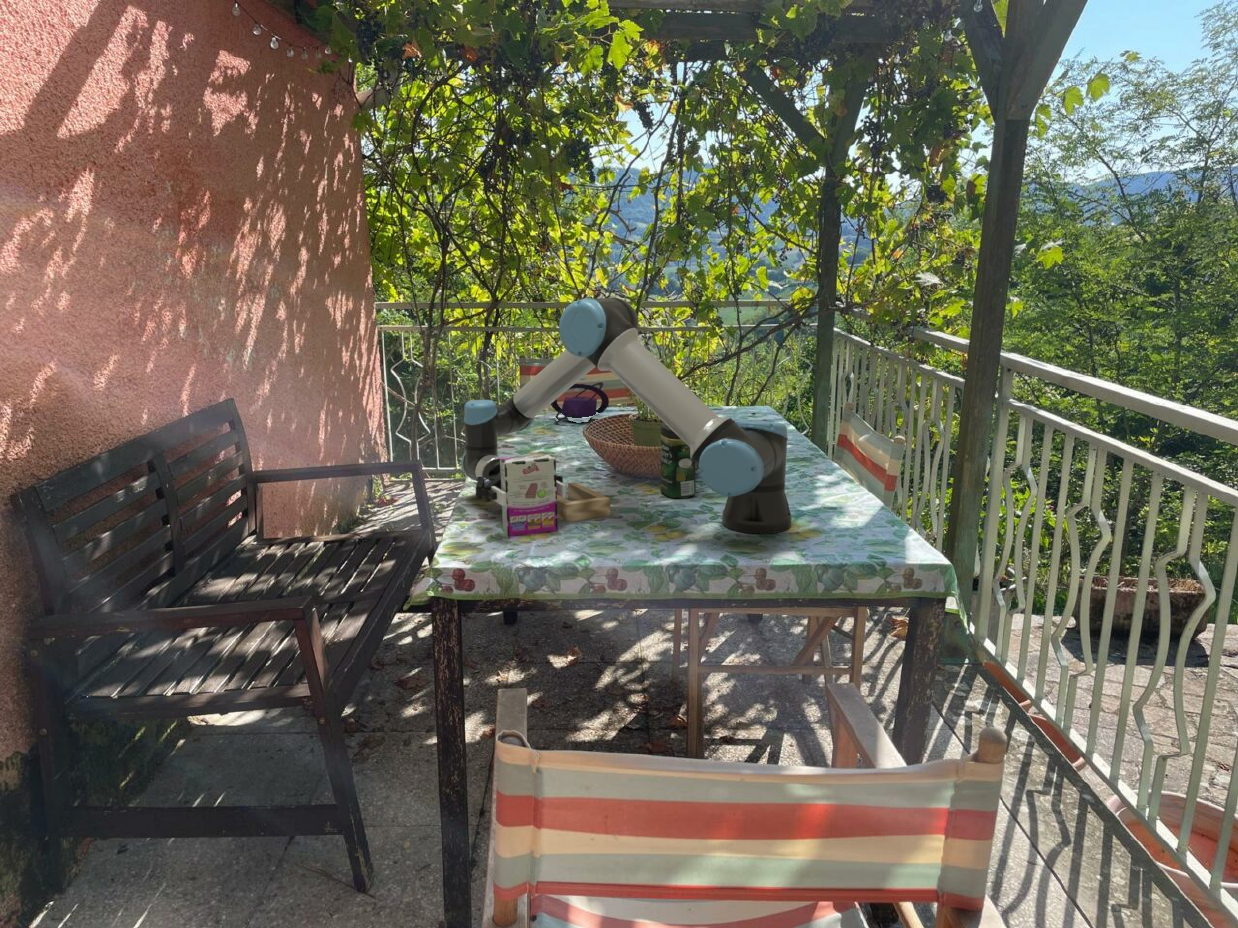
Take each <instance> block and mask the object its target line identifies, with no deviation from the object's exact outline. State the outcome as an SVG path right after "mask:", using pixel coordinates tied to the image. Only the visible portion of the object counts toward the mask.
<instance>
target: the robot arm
mask: <svg viewBox="0 0 1238 928" xmlns="http://www.w3.org/2000/svg"><path fill="white" fill-rule="evenodd" d="M639 324H640V323H639V318H638V314H637V312H636V310H635V309H634V307H633V306H632V305H631V304H630V303H629V302H627V301H626V300H624V299H622V298H619V297H602V298H600V297H598V298H589V297H585V298H582V299H578V300H576V301H573V302H571V303H570V304H568V305H567V307H565V309H564V311H563V312H562V314H561V316H560V318H559V322H558V329H559V330H558V331H559V334H558V335H559V339H560V342H561V343H562V345H563V347H564V348H565V349H564V351H563V352H561V353H560V354H559V355H557V357H555V358H554V359H553V360H552V361H550V363H548V364H546V366H545V367H544V368H543V369H542V370H540V372H538V373H537V374H536V375H535V376H534V377H532V379H530V380H529V381H528V382H527V383H525V385H523V386H522V387H521V388H520V389H519V390H518V391H516V392H515V393H514V394H513V395H512V396H511V397H510V398H509V399H508V400H506V401H505V402H503V403H500V404H496V402H495V401H494V400H491V399H475V400H473V399H472V400H469V401H466V403H465V404H464V406H463V407H464V417H463V422H464V425H463V426H464V441H465V442H464V443H465V452H464V453H463V454H462V456H461V459H460V467H461V469H462V472H463V473H464V474H465V475H466V476H467V478H469V479H471V480H473V481H476V485H475V487H474V488H475V499H476V500H481V499H482V498H483V497H484V502H485V503H490V502H491V501H492V500H493V501H494V502H496V503H497V504H499V505H501V507H502V506H507V500H506V493H505V492H504V491H502V490H501V472H500V459H503V458H502V457H500V456H498V437H501V436H505V435H509V434H513V433H516V432H517V433H518V432H521V431H524V430H525V429H528V428H529V427H532V425H533V424H534V421H535V418H536V417H537V416H538V415H539V414H540V413H541V412H543V411H544V410H545V409H546V408H548V407H549V406H551V403H552V402H554V401H555V400H556V399H557V400H558V399H559V397H561V396H562V395H563V394H565V392H568V389H569V388H570V387H572V386H573V385H574V384H577V382H579V381H581V380H580V379H581V378H582V377H584V376H586V375H588V373H590V372H591V371H593V369H595V368H596V369H598V370H599V371H600V372H601V371H602V372H604V371H605V372H606V371H608V372H609V371H610V372H611V373H612V374H613V375H614V376H615V377H616V378H617V379H618V380H620V381H621V383H622V384H623V385H624V386H626V388H628V389H629V390H630V391H631V393H633V394H634V395H635V396H636V397H637V398H638V399H639V400H640V401H641V402H642V403H643V404H644V405H645V406H647V408H648V409H650V411H652V413H654V415H656V416H657V417H658V418H659V419H660V420H661V422H663V423H665V424H666V425H667V426H668V427H669V428H670V429H671V430H672V431H673V432H675V433H676V434H677V435H678V436H679V437H680V438H681V439H682V440H683V441H684V442H685V443H686V444H687V445H688V446H689V447H690V458H691V459H692V460H693V461H694V462H695V465H697V466H698V468H699V476H700V478H701V479H702V481H703V483H704V484H705V486H706V487H707V488H708V489H710V490H711V491H712V492H713V493H716V494H717V495H721V496H723V497H727V499H726V503H725V506H724V508H723V510H722V515H721V524H722V525H723V526H725V528H727V529H730V530H732V531H737V532H741V533H747V534H748V533H749V534H775V533H781V532H784V531H787V530H789V529H790V528H791V526H792V517H793V516H792V512H791V511H790V506H789V502H788V499H787V494H786V491H785V489H786V488H785V487H786V470H787V469H786V468H787V448H788V440H789V437H788V427H787V425H785V423H783V422H777V421H776V422H775V421H767V420H755V419H754V420H753V419H752V420H751V419H736V420H734V419H732V417H729V416H728V417H724V416H723V417H721V416H718V415H717V413H715V412H714V410H712V409H711V408H710V407H709V406H708V405H707V404H706V403H705V402H703V401H702V399H700V398H699V397H698V396H697V395H696V394H695V393H694V392H693V391H692V390H691V389H689V387H688V386H687V385H685V384H684V383H683V382H682V381H681V380H680V379H679V378H678V377H677V376H676V375H675V374H674V373H673V372H672V371H671V370H670V369H668V367H666V366H665V365H664V364H663V363H662V362H661V361H660V360H659V359H658V358H657V357H656V356H655V355H654V354H653V353H652V352H651V351H649V350H648V348H646V347H645V346H644V345H643V344H642V343H641V342H640V341H639ZM569 390H570V389H569ZM563 478H564V477H563V476H562V475H557V474H556V483H557V485H556V486H557V495H559V496H561V497H562V498H567V485H566V484H565V483H564V481H563Z"/></svg>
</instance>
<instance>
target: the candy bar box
mask: <svg viewBox="0 0 1238 928" xmlns="http://www.w3.org/2000/svg"><path fill="white" fill-rule="evenodd" d="M500 472H501V490H502V491H504V492H505V493H506V500H507V506H502V505H501V515H502V531H503V533H504V535H505V537H507V538H508V539H511V538H513V537H519V536H528V535H536V534H538V535H539V534H544V533H545V534H546V533H554V532H558V531H559V526H558V519H557V518H558V516H557V486H556V485H557V483H556V475H557V460H556V457H555V456H553V455H552V454H550V453H548V454H536V455H526V456H525V455H524V456H515V457H505V458H502V459H500Z"/></svg>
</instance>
